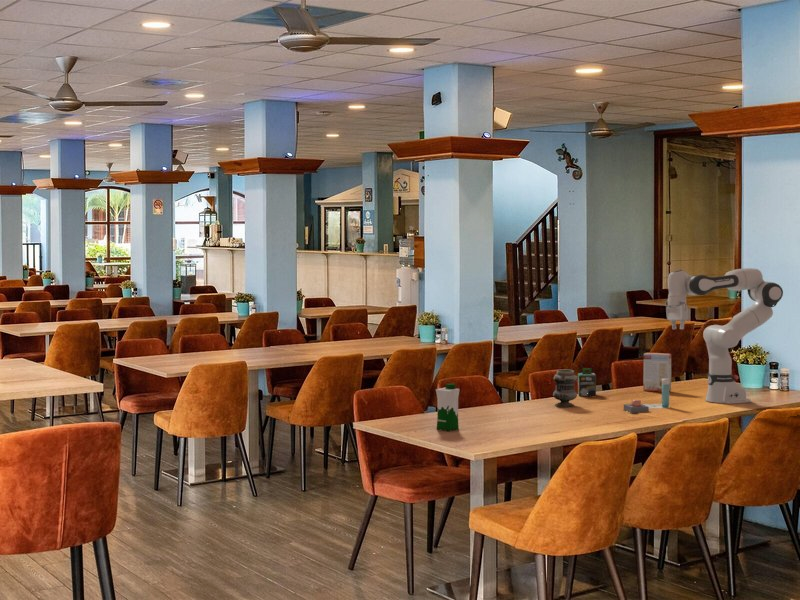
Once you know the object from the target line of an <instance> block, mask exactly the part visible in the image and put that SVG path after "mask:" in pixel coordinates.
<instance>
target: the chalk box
mask: <svg viewBox="0 0 800 600" xmlns="http://www.w3.org/2000/svg"><path fill="white" fill-rule="evenodd" d="M586 371H587V372H586ZM587 393H588V394H587ZM577 396H578V397H592V396H597V375H596V373H594V372H592V367H590V368H589V367H582V372H578V373H577Z"/></svg>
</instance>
